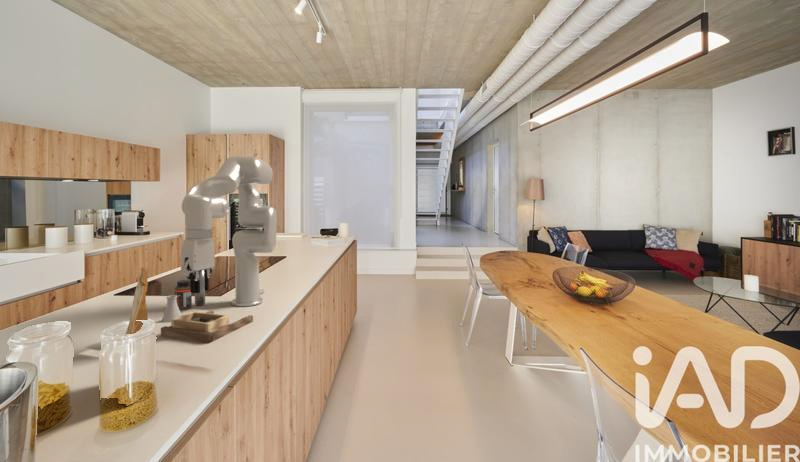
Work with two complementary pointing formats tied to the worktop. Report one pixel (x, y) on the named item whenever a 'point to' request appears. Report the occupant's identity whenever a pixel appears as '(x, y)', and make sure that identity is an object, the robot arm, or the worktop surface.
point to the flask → (171, 309)
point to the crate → (201, 321)
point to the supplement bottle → (183, 295)
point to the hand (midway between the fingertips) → (199, 290)
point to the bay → (202, 335)
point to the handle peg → (201, 290)
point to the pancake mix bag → (139, 304)
